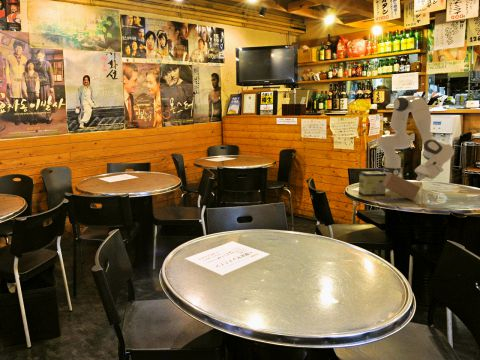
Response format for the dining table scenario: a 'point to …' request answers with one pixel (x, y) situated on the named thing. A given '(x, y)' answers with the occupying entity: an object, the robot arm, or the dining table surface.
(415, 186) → the wooden block
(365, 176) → the protein box
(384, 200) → the mat
